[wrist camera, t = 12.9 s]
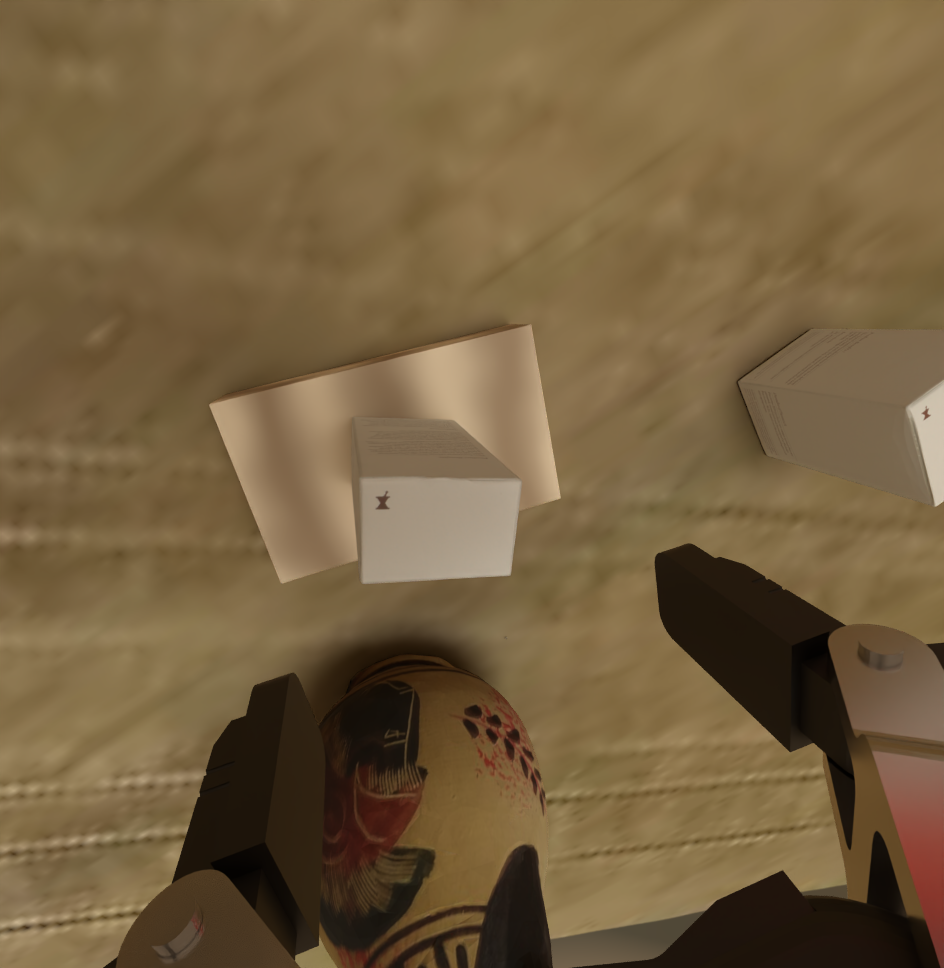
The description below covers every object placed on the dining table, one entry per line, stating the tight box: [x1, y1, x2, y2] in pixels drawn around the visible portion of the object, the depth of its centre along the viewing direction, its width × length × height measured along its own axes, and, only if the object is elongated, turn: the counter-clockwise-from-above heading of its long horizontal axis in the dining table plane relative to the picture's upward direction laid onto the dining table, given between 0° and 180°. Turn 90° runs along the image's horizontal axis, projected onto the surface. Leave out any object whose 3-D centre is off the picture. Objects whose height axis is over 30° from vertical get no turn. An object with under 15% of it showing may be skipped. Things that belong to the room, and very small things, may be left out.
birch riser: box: [209, 324, 561, 584], centre depth 32 cm, size 18×11×4 cm, turn 103°
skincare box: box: [351, 417, 522, 584], centre depth 24 cm, size 6×4×12 cm
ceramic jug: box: [318, 637, 553, 968], centre depth 26 cm, size 17×15×30 cm
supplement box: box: [738, 329, 944, 507], centre depth 34 cm, size 7×7×13 cm
